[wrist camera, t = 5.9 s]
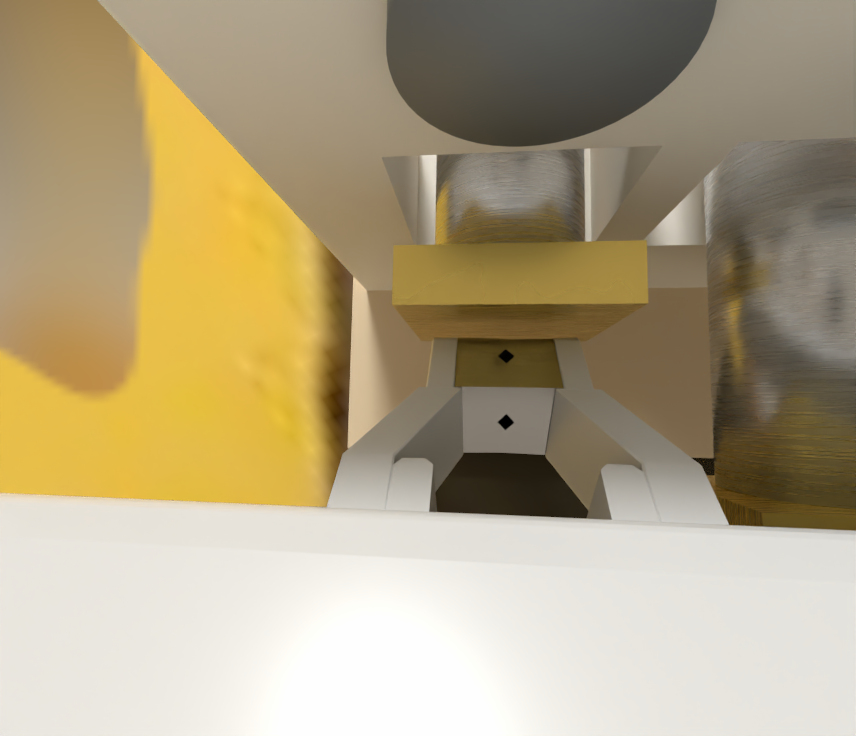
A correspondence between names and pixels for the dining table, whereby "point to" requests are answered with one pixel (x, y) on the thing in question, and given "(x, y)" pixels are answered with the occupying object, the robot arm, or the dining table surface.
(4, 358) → the dining table surface
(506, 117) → the panel
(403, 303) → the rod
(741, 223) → the middle rod
